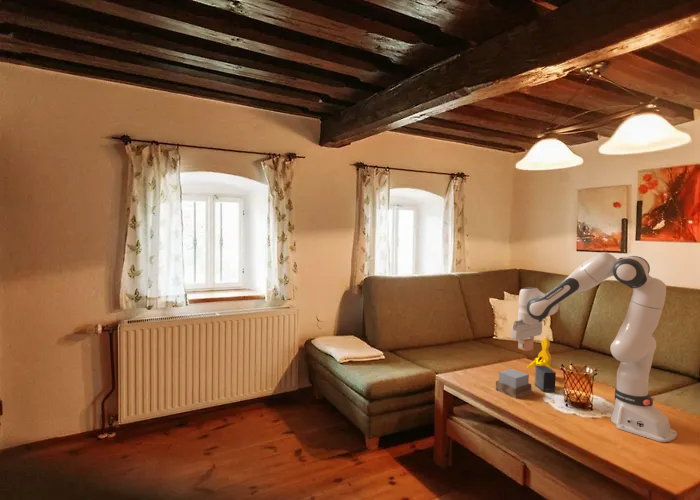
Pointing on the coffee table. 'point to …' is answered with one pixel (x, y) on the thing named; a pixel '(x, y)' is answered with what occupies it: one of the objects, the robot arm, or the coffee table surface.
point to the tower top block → (513, 378)
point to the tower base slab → (513, 389)
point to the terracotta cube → (527, 344)
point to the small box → (545, 378)
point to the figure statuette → (542, 355)
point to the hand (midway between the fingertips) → (525, 345)
